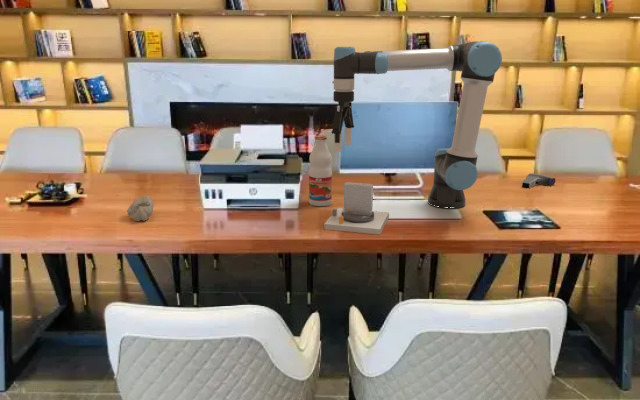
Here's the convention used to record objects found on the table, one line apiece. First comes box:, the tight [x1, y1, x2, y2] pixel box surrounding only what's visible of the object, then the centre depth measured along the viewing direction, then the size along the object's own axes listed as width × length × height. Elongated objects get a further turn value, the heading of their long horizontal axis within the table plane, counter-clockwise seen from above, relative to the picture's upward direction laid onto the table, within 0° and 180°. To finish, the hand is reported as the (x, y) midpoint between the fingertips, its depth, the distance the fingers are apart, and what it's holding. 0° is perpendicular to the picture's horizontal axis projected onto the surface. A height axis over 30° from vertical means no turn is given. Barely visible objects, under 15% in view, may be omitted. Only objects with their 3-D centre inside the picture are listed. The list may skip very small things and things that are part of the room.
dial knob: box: [342, 181, 374, 222], centre depth 196 cm, size 12×12×12 cm
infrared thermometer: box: [521, 172, 556, 189], centre depth 251 cm, size 5×12×15 cm
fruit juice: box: [308, 134, 333, 207], centre depth 218 cm, size 9×9×28 cm
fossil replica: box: [126, 194, 155, 222], centre depth 201 cm, size 12×8×10 cm
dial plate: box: [323, 207, 390, 235], centre depth 198 cm, size 20×20×4 cm
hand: (343, 148), depth 202 cm, fingers open, 13 cm apart
